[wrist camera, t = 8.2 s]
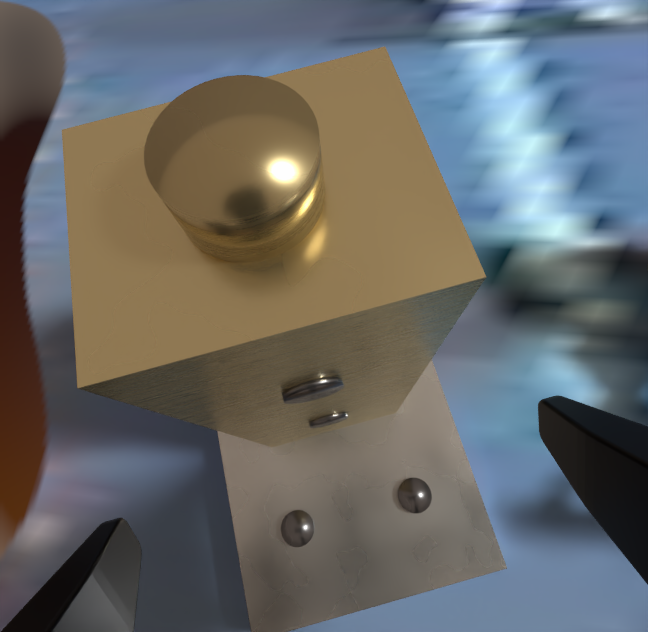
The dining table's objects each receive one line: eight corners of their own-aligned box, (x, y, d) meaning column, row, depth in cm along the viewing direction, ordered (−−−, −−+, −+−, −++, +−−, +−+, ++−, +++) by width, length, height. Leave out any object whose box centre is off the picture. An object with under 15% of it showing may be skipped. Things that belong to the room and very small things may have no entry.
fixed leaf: (498, 562, 16) (611, 634, 9) (259, 631, 16) (179, 761, 9) (392, 266, 20) (412, 155, 13) (204, 317, 20) (121, 232, 13)
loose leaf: (397, 416, 17) (521, 246, 4) (272, 451, 17) (14, 383, 4) (366, 319, 18) (390, -25, 6) (251, 351, 18) (11, 71, 6)
